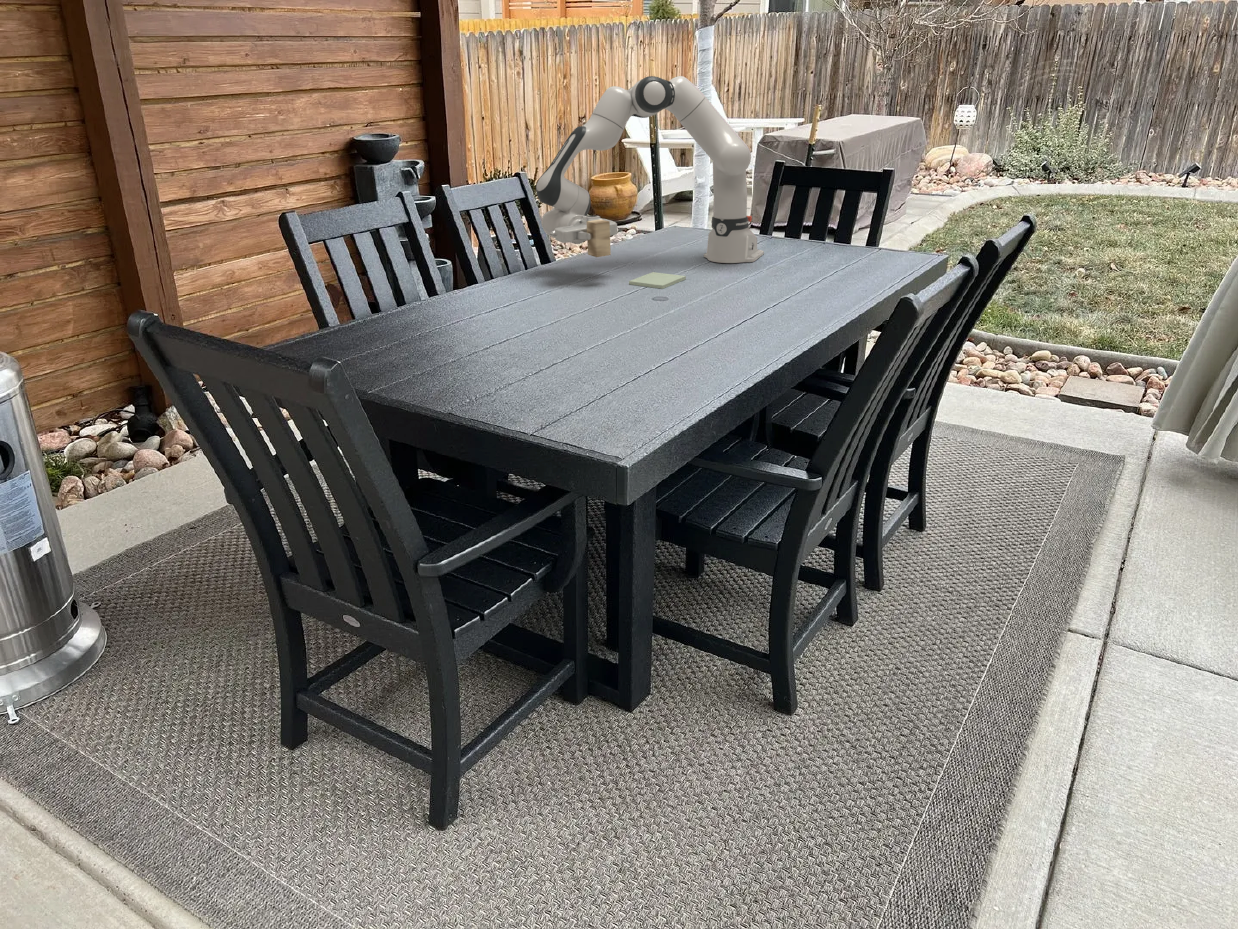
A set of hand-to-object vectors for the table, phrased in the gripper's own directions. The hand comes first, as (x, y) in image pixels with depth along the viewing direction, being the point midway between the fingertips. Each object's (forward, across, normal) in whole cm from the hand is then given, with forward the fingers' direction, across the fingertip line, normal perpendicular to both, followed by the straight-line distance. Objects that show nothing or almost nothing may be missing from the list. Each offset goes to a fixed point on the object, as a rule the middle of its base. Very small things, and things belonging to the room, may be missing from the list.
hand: (600, 235), depth 277 cm
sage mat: (+9, +14, +15) cm, 23 cm away
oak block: (-1, 0, +6) cm, 6 cm away
